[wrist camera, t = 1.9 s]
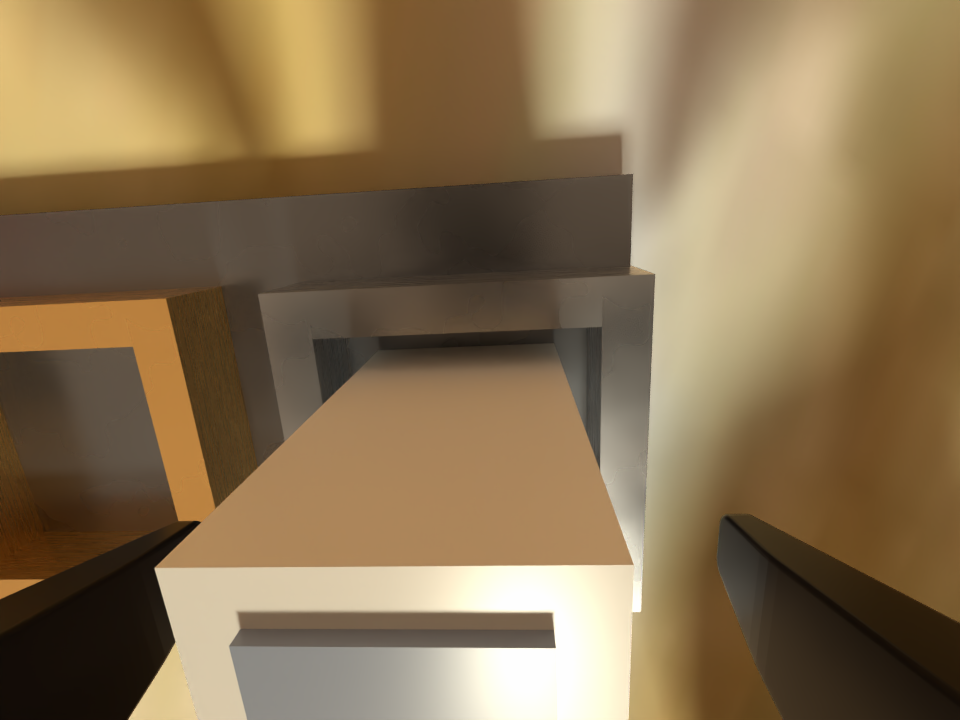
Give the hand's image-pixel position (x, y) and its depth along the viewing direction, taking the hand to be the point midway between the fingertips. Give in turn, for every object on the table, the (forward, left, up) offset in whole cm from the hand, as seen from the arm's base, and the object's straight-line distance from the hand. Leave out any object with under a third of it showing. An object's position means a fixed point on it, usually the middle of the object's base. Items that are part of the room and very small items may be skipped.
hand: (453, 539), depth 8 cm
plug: (0, 0, -4) cm, 5 cm away
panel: (+5, 0, -6) cm, 8 cm away
